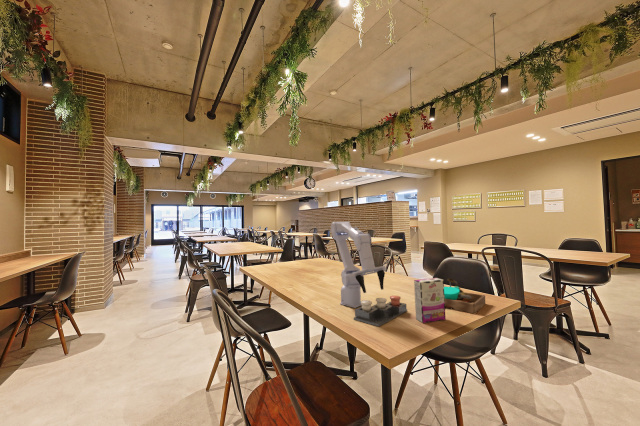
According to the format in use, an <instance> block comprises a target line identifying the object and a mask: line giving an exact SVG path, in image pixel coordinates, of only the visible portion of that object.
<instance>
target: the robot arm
mask: <svg viewBox="0 0 640 426" xmlns="http://www.w3.org/2000/svg"><path fill="white" fill-rule="evenodd" d="M330 233H331V236H332V239H333V240H335V243H336V245H337V248H338V251H339V255H340V259H341V261H342V264H343V270H342V271H341V274H340V276H341V283H342V285H343V286H342V287H341V289H340V303H339V304H340V305H343V306H345V307H349V308H350V307H351V308H353V309H357V308H360V306H361V307H362V304H361V301H362V298H361V297H362V296H361V293H363V294H366V293H367V289H366V286H365V276H366V275H371V274H377V277H378V282H379V287H380V289H381V291H382V290H384V280H385V274H386V273H385V272H386V271H387V266H386V265H381V266H375V261H374V256H373V252H372V249H371V247H372V246H371V244H372V236H371V234H370V233H368V232H367V233H364V232H363V231H362V230H360V229H359V228H358V227H352V224H351V222H349V221H332V223H331V224H330ZM349 238H350V240H352V241H353V243H354V246H355V247H356V251H358V256H359V260H360V265H361V269H360V268H359V267H357V266H356V265H355V263H354V261H353V258H352V255H351V252H350V248H349V247H348V243H347V240H348V239H349ZM361 289H362V290H361Z"/></svg>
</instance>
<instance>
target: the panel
mask: <svg viewBox="0 0 640 426" xmlns="http://www.w3.org/2000/svg"><path fill="white" fill-rule="evenodd" d="M407 311H408V309H407V303H403V302H400V305H399V306H393V305H391V301H389V302H386V308H384V309H381V308H377V303H375V304H374V305H371V311H369V312H367V311H363V310H362V306H361V307H360V306H359V307H357V308H354V317H353V320H354V321H358V322H360V323H363V324H364V323H365V324H368V325H371V326H375V327H378V328H380V327H382V326H383V325H385V324H387V323H389V322H390V321H392V320H393V319H396V318H397V317H399V316H401V315H403V314H404V313H406V312H407Z"/></svg>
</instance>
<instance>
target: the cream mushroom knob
mask: <svg viewBox="0 0 640 426" xmlns="http://www.w3.org/2000/svg"><path fill="white" fill-rule="evenodd" d="M361 304H362V305H361V307H362V310H363V311H367V312H369V311H371V306H372V305H373V302H372V301H371V300H369V299H364V300H361Z"/></svg>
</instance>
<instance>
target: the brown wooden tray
mask: <svg viewBox="0 0 640 426" xmlns="http://www.w3.org/2000/svg"><path fill="white" fill-rule="evenodd" d="M463 292H464V294H465V295H468V296H471V299H468V300H470V301H471V303H467V302H461V301H456V300H450V299H444V300H445V306H447V305H449V306H451V307H452V308H454V309H453V310H455V311H460V312H465V313H470V314H474V313H476V312H477V311H478V312H479V311H480V310H481V309H482V308H483V307H484V306H485V305H486V295H485V294H478V293H474V292H473V293H471V292H465V291H463ZM466 299H467V298H466ZM476 314H477V313H476Z"/></svg>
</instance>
